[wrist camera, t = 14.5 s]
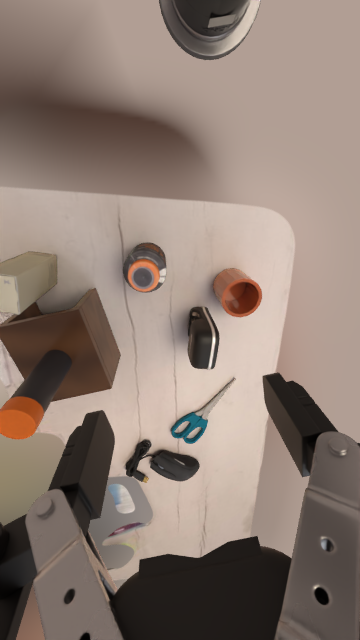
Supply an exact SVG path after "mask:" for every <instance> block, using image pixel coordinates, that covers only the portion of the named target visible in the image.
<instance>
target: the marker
mask: <svg viewBox="0 0 360 640" xmlns="http://www.w3.org/2000/svg"><path fill="white" fill-rule="evenodd" d="M71 364H72V361H71V358H70V357H69V355H68V354H66V353H65V352H63V351H61V350H51V351H48V352H47V353H46V354H45V355H44V356H43V358H42V359H41V360H40V361H39V363H38V364H37V365H36V366H35V368H34V369H33V370H32V372H31V373H30V374H29V375H28V377H27V378H26V379H25V380H24V382H23V383H22V384H21V385H20V387H19V388H18V389H17V391H16V392H15V393H14V394H13V396H12V397H11V398H10V399H9V400H8V401H7V402H6V403H5V404H4V405H3V407H2V408H1V409H0V433H1V434H2V435H4V436H6V437H8V438H12V439H25V438H28V437H30V436H32V435H33V434H34V433H35V431H36V429H37V427H38V426H39V424H40V422H41V420H42V418H43V416H44V413H45V411H46V410H47V408H48V406H49V404H50V402H51V401H52V399H53V397H54V395H55V394H56V392H57V390H58V388H59V387H60V385H61V383H62V381H63V379H64V378H65V376H66V374H67V372H68V371H69V369H70V367H71Z"/></svg>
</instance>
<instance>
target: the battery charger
mask: <svg viewBox="0 0 360 640" xmlns="http://www.w3.org/2000/svg"><path fill="white" fill-rule="evenodd" d="M188 336H189V343H188V356H189V359H190V362H191V365H192V366H193V367H194V368H198V369H207V370H210V369H213V368H214V367H215V363H216V358H217V352H218V346H219V332H218V329H217V327H216V325H215V323H214V321H213V319H212V317H211V315H210V313H209V311H208V308H206V307H195V308H193V309H192V310H191V312H190V319H189V328H188Z"/></svg>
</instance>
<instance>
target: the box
mask: <svg viewBox="0 0 360 640" xmlns="http://www.w3.org/2000/svg"><path fill="white" fill-rule="evenodd" d="M56 284H57V260H56V255H52V254H46V253H39V252H27V253H24V254H22V255H19V256H17V257H14V258H12V259H9V260H7V261H4V262H2V263H0V313H7V314H17V315H19V314H21V313H22V312H23V311H24V310H25V309H27V308H28V307H29V306H30V305H31V304H33V303H34V302H35V301H36V300H37V299H39V298H40V297H41V296H42V295H44V294H45V293H46V292H47V291H48V290H50V289H51V288H52V287H53V286H55V285H56Z"/></svg>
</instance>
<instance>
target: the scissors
mask: <svg viewBox="0 0 360 640" xmlns="http://www.w3.org/2000/svg"><path fill="white" fill-rule="evenodd" d="M235 380H236V379H235V378H234V379H233V380H232V381H231V382H230V383H229V384H228V385H227V386H226V387H225V388H224V389H223V390H222V391H221V392H220V393H219V394H218V395H217V396H216V397H215V398H214V399H212V400H211V401H210V402H209V403H208V404H207V405H206V406H205V407H204V408H203V409H202V410H200V411H198V412H196V413H194V412H192V413H190V414H188V415H186V416H184V417H183V418H181V419H180V420H179V421H178V422H177V423H176V424H175V425H174V426H173V427H172V430H171V432H172V436H173V437H175V438H182V437H184V441H185V442H186V443H189V444H193V443H195V442H196V441H197V440H198V439H199V438H200V437H201V436H202V435H203V433H204V431H205V429H206V427H207V423H208V420H207V417H208V414H209V413H210V411H211V410H212V409H213V407H214V406H215V405H216V404H217V402H218V401H219V400H220V398H221V397H222V396H223V395H224V393H225V392H226V391H227V390H228V388H229V387H230V386H231V385H232V383H233V382H234V381H235ZM201 415H202V416H201ZM185 421H189V422H190V424H189V425H188V427H187V428H186V429H185V430H184V431H183V432H182V433H180V434H177V433H175V432H174V431H175V430H176V429H177V427H178V426H179V425H181V424H182V423H183V422H185ZM197 427H202V429H201V431H200V432H199V433H198V434H197V435H196V436H195V437H194V438H193V439H188V438H186V437H187V436H188V435H189V433H190V432H191V431H193V430H194V429H195V428H197Z"/></svg>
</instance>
